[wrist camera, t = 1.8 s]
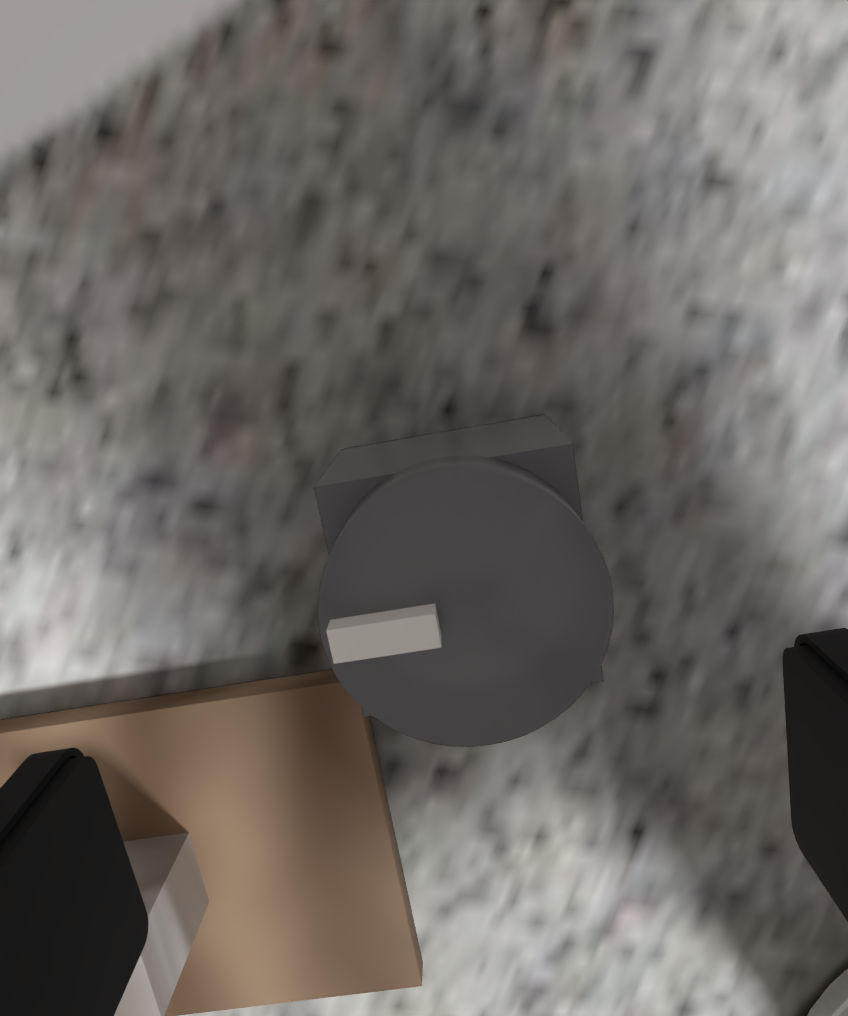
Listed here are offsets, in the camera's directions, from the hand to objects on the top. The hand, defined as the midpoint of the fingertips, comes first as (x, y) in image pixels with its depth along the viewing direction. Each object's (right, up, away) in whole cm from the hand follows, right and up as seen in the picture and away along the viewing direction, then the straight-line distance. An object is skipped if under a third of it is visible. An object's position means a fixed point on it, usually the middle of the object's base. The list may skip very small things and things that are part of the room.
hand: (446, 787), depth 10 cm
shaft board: (-9, -8, +17) cm, 21 cm away
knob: (+1, +3, +13) cm, 14 cm away
